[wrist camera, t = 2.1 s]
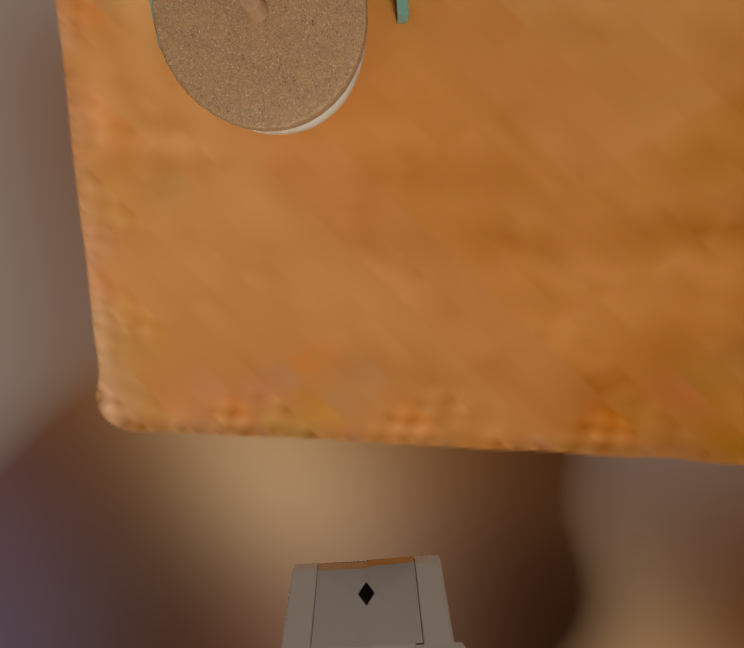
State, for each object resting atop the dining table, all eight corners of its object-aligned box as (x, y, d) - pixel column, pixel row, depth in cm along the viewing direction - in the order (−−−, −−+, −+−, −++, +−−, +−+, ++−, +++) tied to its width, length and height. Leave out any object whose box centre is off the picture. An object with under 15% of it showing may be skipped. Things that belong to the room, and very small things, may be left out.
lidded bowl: (338, 171, 37) (319, 158, 26) (190, 111, 36) (109, 71, 25) (396, 6, 34) (402, -85, 23) (236, -64, 33) (165, -192, 22)
